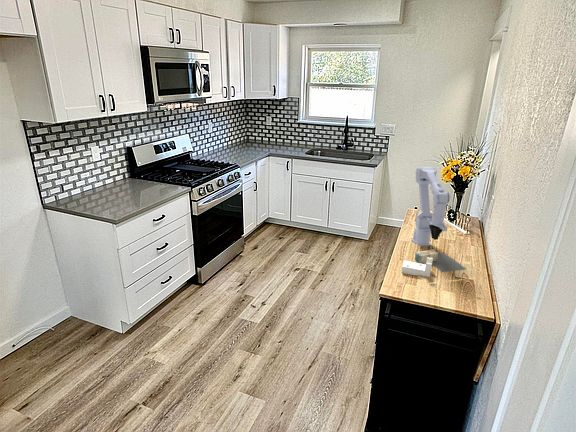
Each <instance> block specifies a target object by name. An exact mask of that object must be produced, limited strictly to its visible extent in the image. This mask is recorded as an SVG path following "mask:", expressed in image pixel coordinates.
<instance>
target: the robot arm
mask: <svg viewBox="0 0 576 432" xmlns="http://www.w3.org/2000/svg"><path fill="white" fill-rule="evenodd" d="M415 181H416V182H415V183H417V184H418V189H419V205H420V212H419V213H418V214H417V215H416V216H415V228H414V231H413V236H412V239H411V241H412V242H413V243H415V244H417V245H418V246H419V247H424V246H433V244H432V243H431V242H430V241H431V239H433V240H434V241H435V240H437V241H438V239H439V237H440V235H441V233H442V232H447V231H448V227H447V225H445V224H444V219H445V215H446V211H447V210H446V209H447V204H449V203H450V199H451V195H450V193H449V192H448V191H446V190H445V189H444V187H443V185H442V183H440V182H438V179H437V169H436V167H435V166H433V167H428V166H427V167H425V166H423V167H422V166H418V167H417V168H416V171H415ZM429 185H430V187H429ZM429 189H430V190H431V193H432V196H433V197H432V200H433V202H432V204H433V205H432V206H433V210H432V212H431V208H430V194H429V193H430V192H429Z"/></svg>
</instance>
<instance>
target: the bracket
mask: <svg viewBox="0 0 576 432" xmlns="http://www.w3.org/2000/svg"><path fill="white" fill-rule="evenodd" d="M432 260H433V258H429V257H427V261H426V262H425V263H419V262H414V261H410V260H405V259H404V260H403V263H402V267H401V273H402V274H408V275H413V276H417V277H419V276H423V277H429V278H430V277H431V271H432V266H433V265H432Z"/></svg>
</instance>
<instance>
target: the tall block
mask: <svg viewBox="0 0 576 432" xmlns="http://www.w3.org/2000/svg"><path fill="white" fill-rule="evenodd" d="M438 253H439V252H438V251H436V250H435V249H427V250H422V251H416V252H415V253H414V254H415V255H414V259H415V260H416V261H417V263H421V264H425V263H426V261H427V257H429V258H433V260H432V261H438Z"/></svg>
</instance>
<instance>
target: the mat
mask: <svg viewBox="0 0 576 432" xmlns="http://www.w3.org/2000/svg"><path fill="white" fill-rule="evenodd" d="M432 266H433V267H434V268H436V269H437V270H439V271H440V272H441V273H445V272H455V271H464V270H467V268H466V267H465V266H463V265H462V264H460V263H459V262H458V261H456V260H455V259H453V257H450V256H449V255H448V254H446V253H445V252H438V261H432Z"/></svg>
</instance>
